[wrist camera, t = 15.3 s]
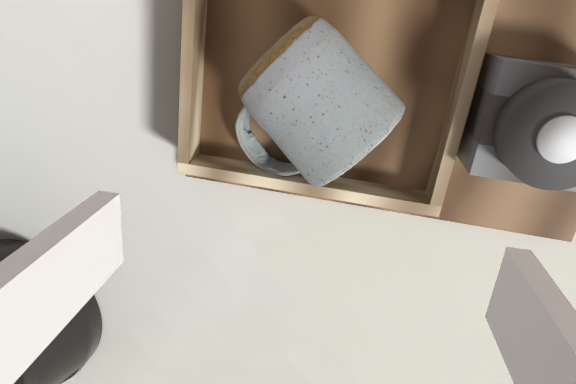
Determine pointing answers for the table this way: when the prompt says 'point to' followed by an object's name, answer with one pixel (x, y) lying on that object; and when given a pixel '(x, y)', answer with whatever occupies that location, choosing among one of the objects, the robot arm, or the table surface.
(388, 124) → the ceramic mug
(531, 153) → the wheel
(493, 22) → the board
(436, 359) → the table surface
